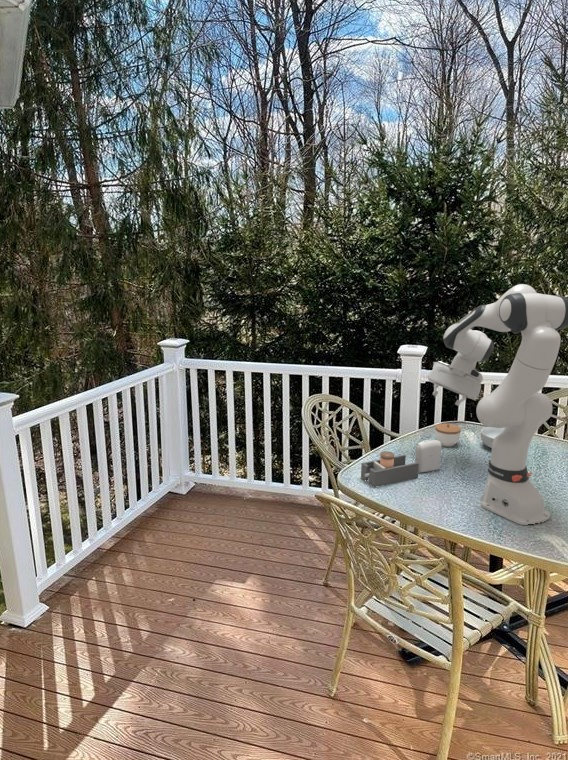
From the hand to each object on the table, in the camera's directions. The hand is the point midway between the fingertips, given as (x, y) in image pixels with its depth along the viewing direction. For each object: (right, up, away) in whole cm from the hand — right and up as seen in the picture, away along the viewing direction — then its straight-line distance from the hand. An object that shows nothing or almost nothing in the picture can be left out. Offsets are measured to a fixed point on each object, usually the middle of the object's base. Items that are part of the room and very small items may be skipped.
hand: (445, 400), depth 209 cm
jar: (-25, -29, -7) cm, 39 cm away
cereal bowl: (+30, -22, +22) cm, 43 cm away
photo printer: (-7, -28, +1) cm, 29 cm away
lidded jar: (+8, -21, +26) cm, 34 cm away
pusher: (-30, -30, -9) cm, 43 cm away
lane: (-23, -29, -6) cm, 37 cm away
